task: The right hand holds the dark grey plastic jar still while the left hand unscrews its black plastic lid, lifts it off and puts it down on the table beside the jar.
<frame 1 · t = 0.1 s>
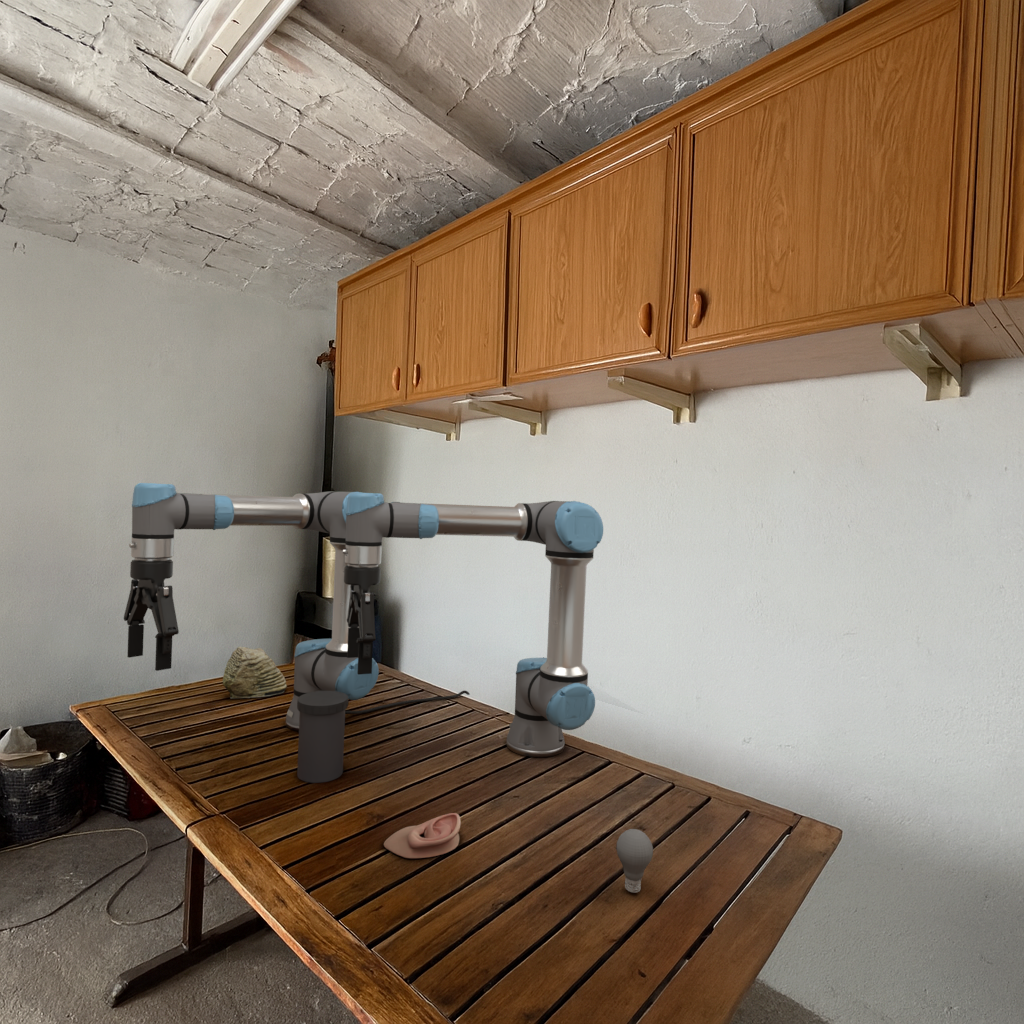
left hand: (148, 662, 129), 28 cm above the table, tool pointing down, fingers open, 13 cm apart
right hand: (358, 665, 134), 28 cm above the table, tool pointing down, fingers open, 13 cm apart
anatomical model: (422, 843, 117), on the table
fossil: (254, 694, 198), on the table
light bulb: (632, 891, 106), on the table
lid: (323, 699, 145), point 17 cm above the table, screwed on, not yet turned
jar: (320, 773, 145), on the table
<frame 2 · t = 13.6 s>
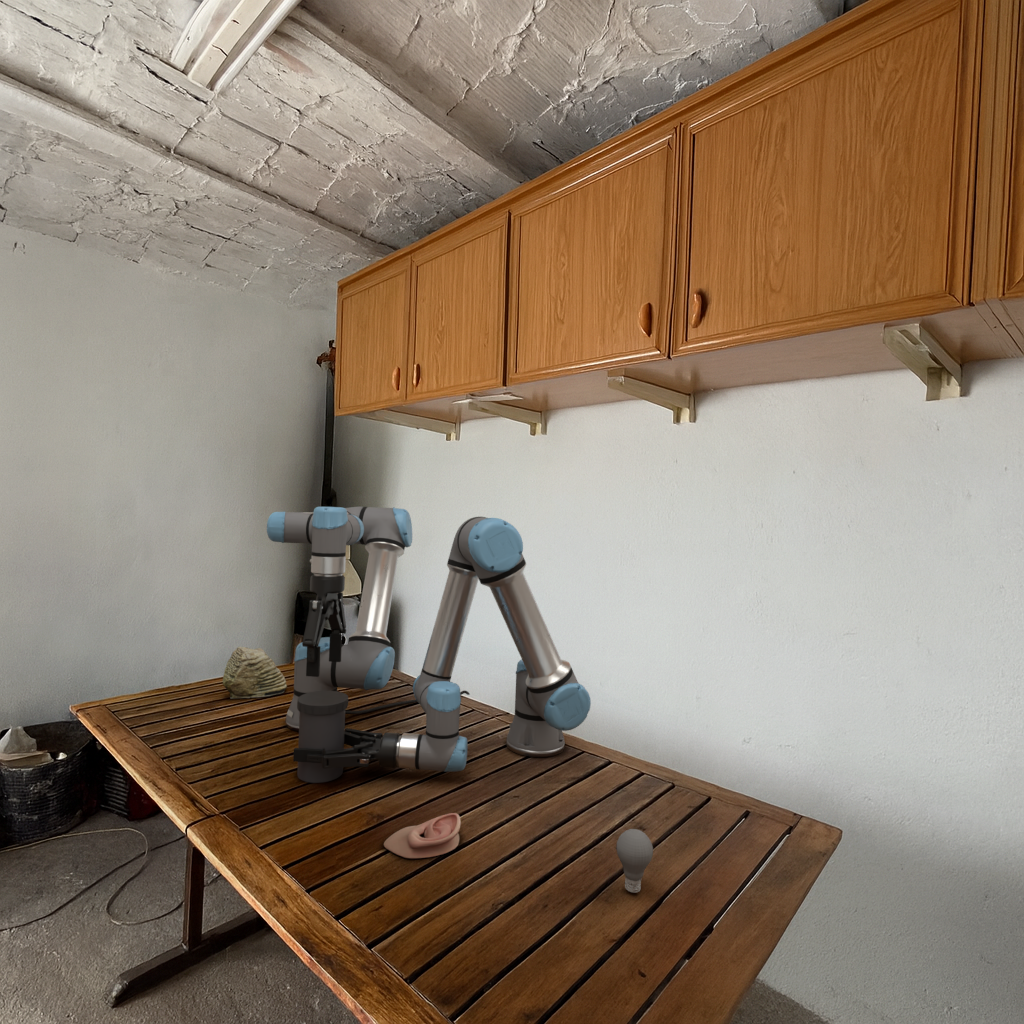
left hand: (324, 668, 145), 24 cm above the table, tool pointing down, fingers open, 12 cm apart
right hand: (302, 745, 145), 6 cm above the table, tool horizontal, fingers closed on jar, 10 cm apart
jar: (320, 773, 145), on the table, touching right hand
everything else where it was.
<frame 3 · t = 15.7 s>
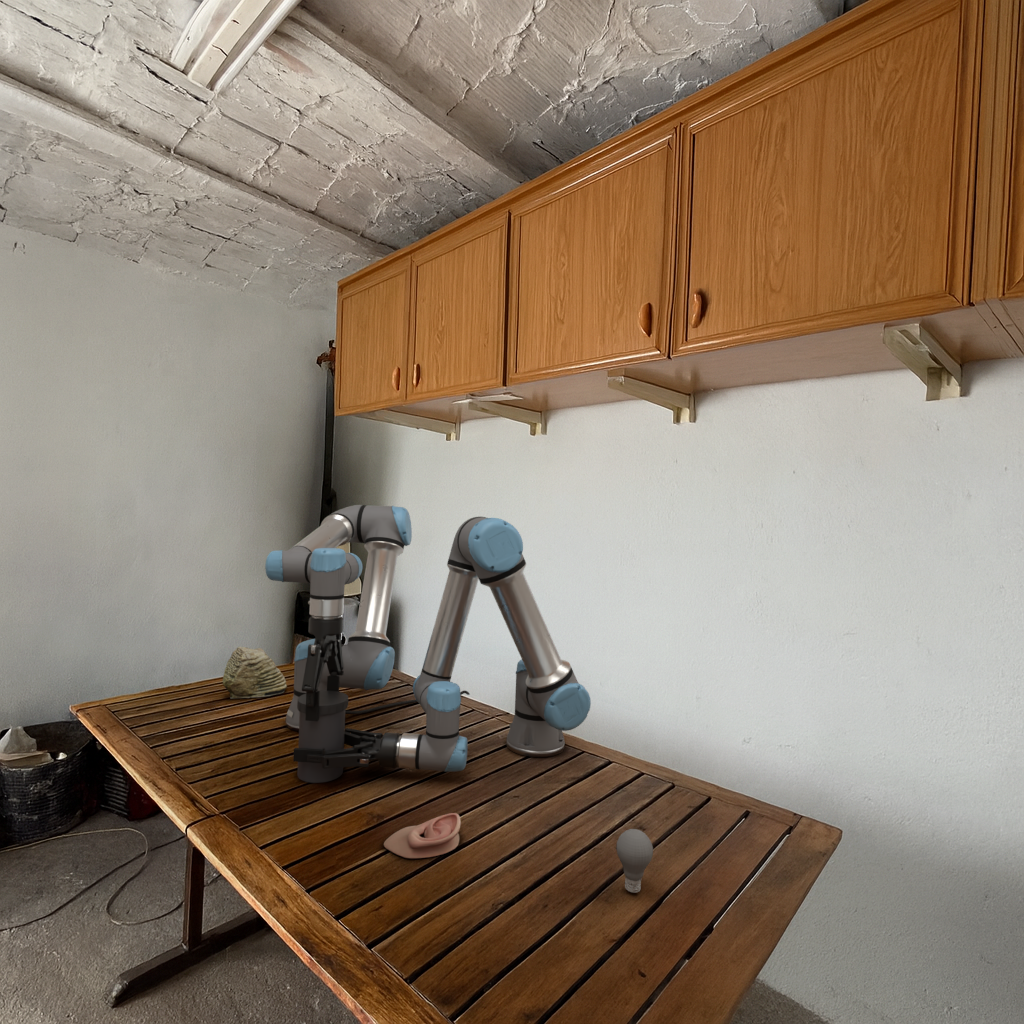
left hand: (322, 711, 145), 14 cm above the table, tool pointing down, fingers closed on lid, 11 cm apart
right hand: (302, 745, 145), 6 cm above the table, tool horizontal, fingers closed on jar, 10 cm apart
lid: (323, 699, 145), point 17 cm above the table, screwed on, not yet turned, touching left hand
jar: (320, 773, 145), on the table, touching right hand
everything else where it was.
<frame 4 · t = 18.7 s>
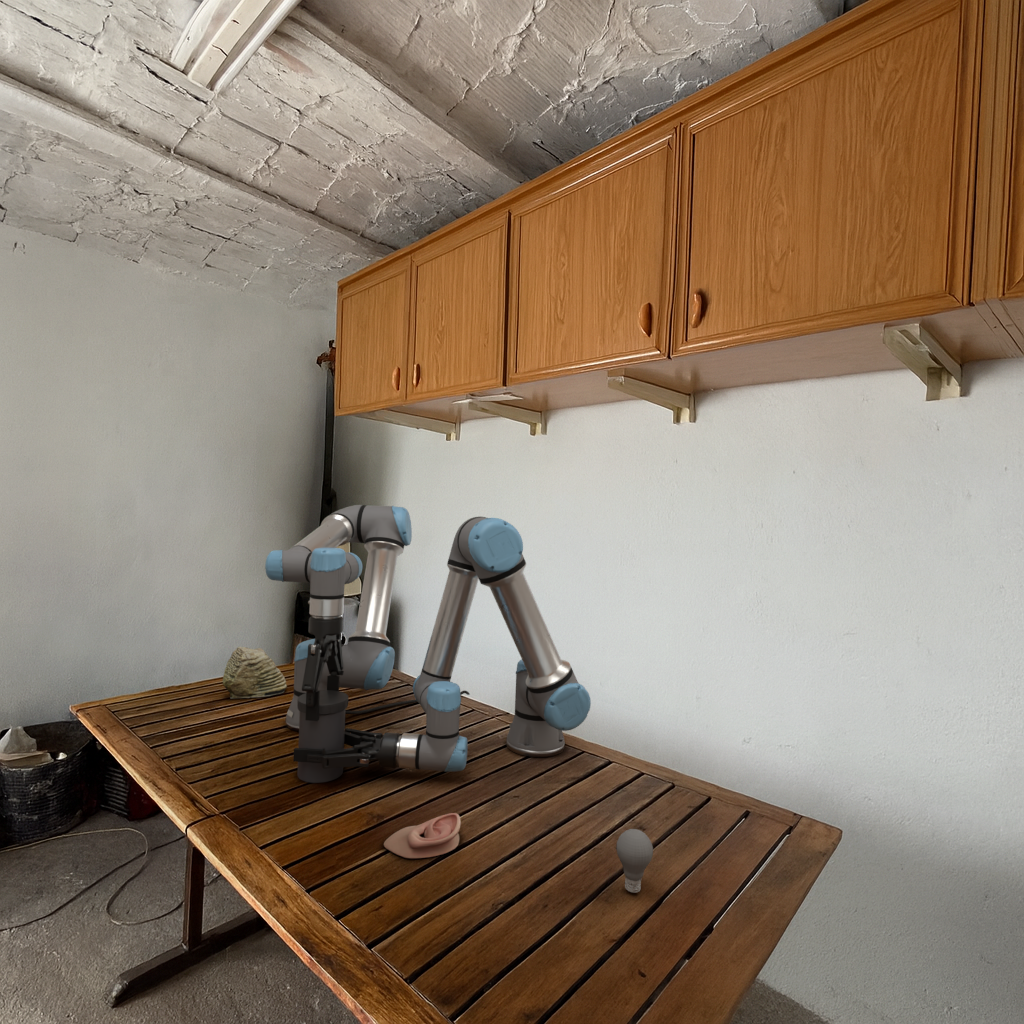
left hand: (322, 711, 145), 14 cm above the table, tool pointing down, fingers closed on lid, 11 cm apart
right hand: (302, 745, 145), 6 cm above the table, tool horizontal, fingers closed on jar, 10 cm apart
lid: (323, 699, 145), point 17 cm above the table, turned 80° so far, risen 0.1 cm, still on its thread, touching left hand
jar: (320, 773, 145), on the table, touching right hand
everything else where it was.
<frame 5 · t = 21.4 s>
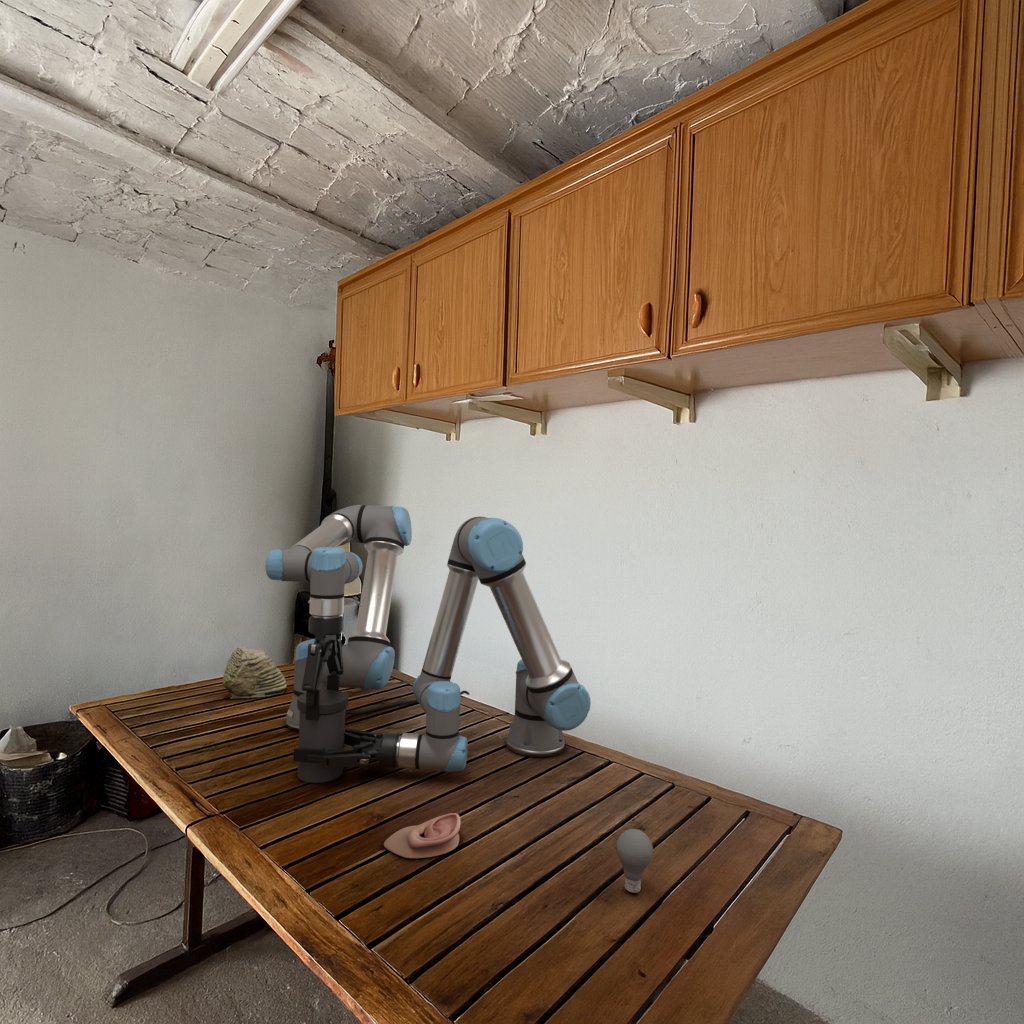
left hand: (322, 710, 145), 14 cm above the table, tool pointing down, fingers closed on lid, 11 cm apart
right hand: (302, 745, 145), 6 cm above the table, tool horizontal, fingers closed on jar, 10 cm apart
lid: (323, 698, 145), point 17 cm above the table, turned 159° so far, risen 0.2 cm, still on its thread, touching left hand
jar: (320, 773, 145), on the table, touching right hand
everything else where it was.
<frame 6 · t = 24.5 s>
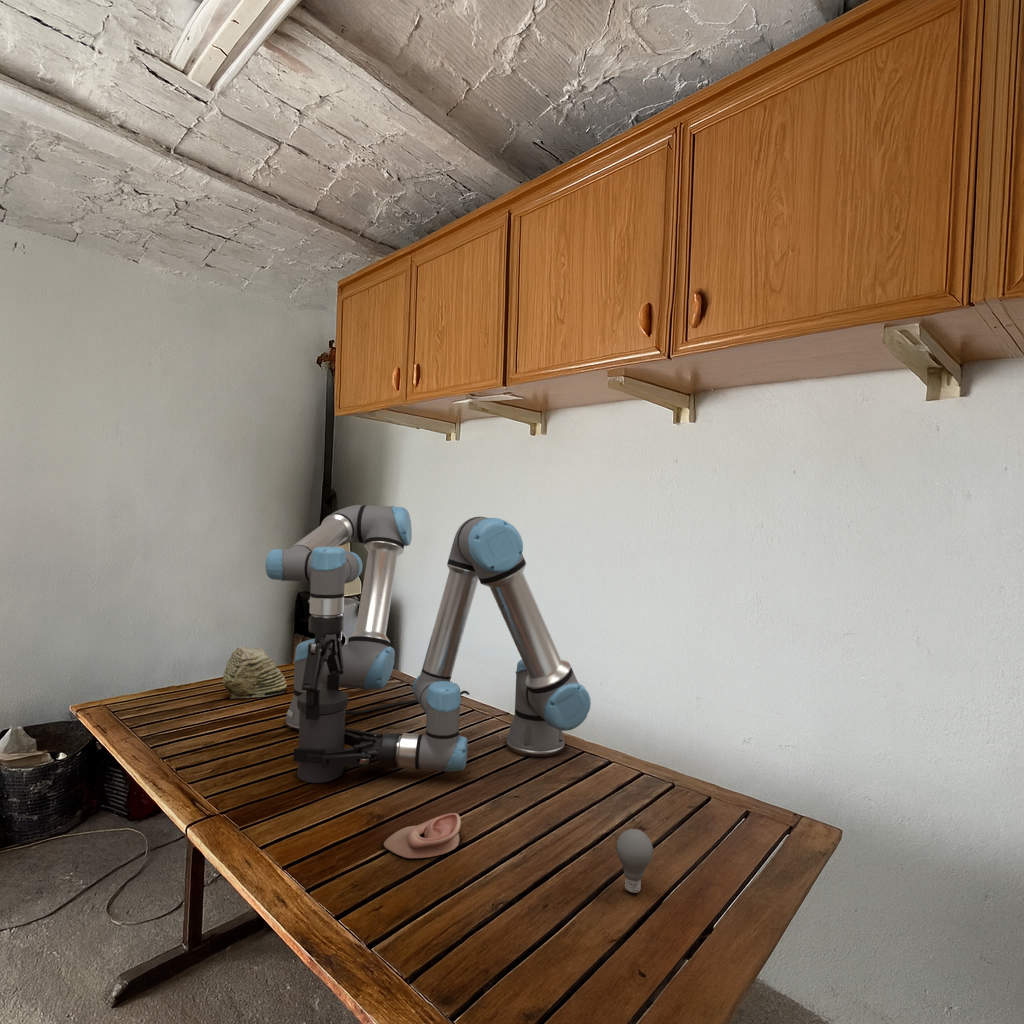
left hand: (322, 710, 145), 14 cm above the table, tool pointing down, fingers closed on lid, 11 cm apart
right hand: (302, 745, 145), 6 cm above the table, tool horizontal, fingers closed on jar, 10 cm apart
lid: (323, 698, 145), point 17 cm above the table, turned 239° so far, risen 0.3 cm, still on its thread, touching left hand
jar: (320, 773, 145), on the table, touching right hand
everything else where it was.
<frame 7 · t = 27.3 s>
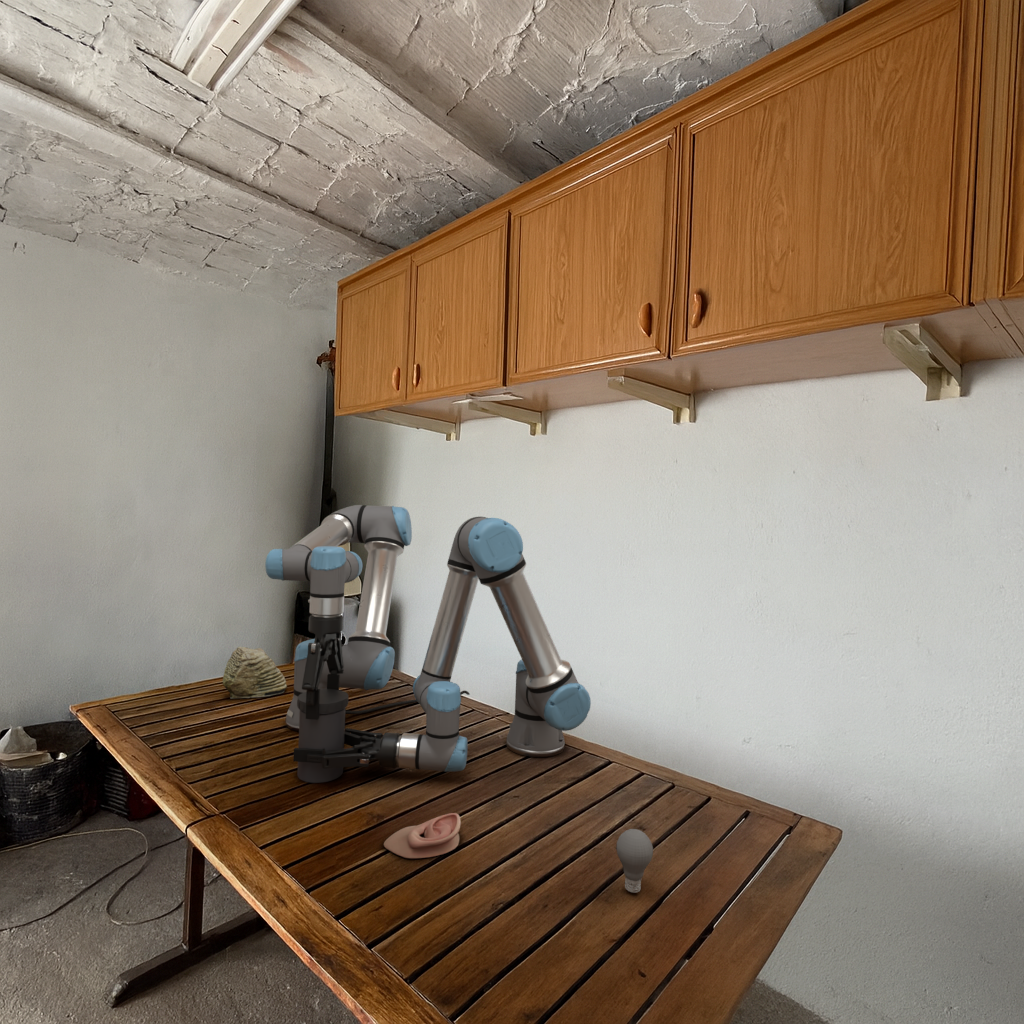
left hand: (322, 710, 145), 15 cm above the table, tool pointing down, fingers closed on lid, 11 cm apart
right hand: (302, 745, 145), 6 cm above the table, tool horizontal, fingers closed on jar, 10 cm apart
lid: (323, 697, 145), point 17 cm above the table, turned 318° so far, risen 0.4 cm, still on its thread, touching left hand
jar: (320, 773, 145), on the table, touching right hand
everything else where it was.
when the left hand's fingers open (0 cm above the table, at t = 34.4 s): lid drops 1 cm, point 2 cm above the table.
when the right hand's fingers open (6 cm above the table, at t = 35.4 s): jar stays where it is, on the table.
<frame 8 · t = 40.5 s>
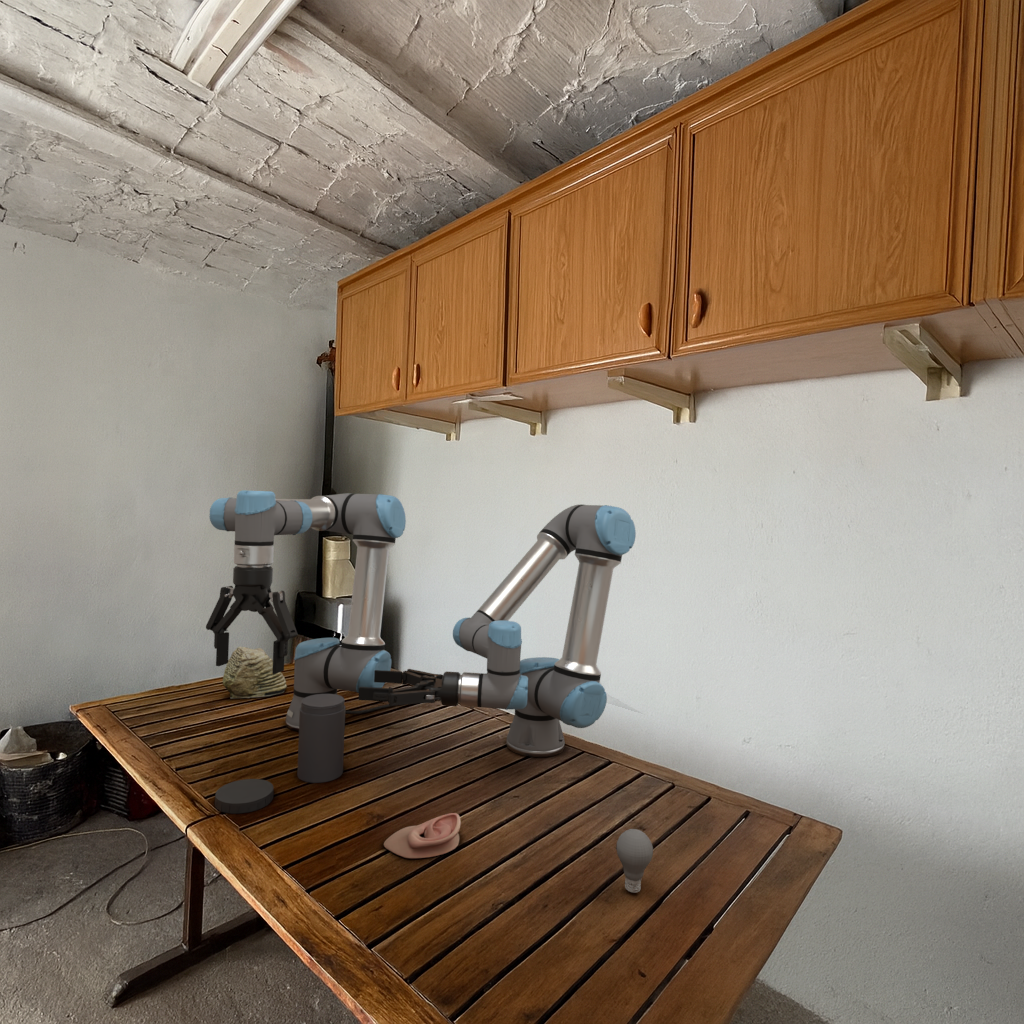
left hand: (249, 668, 130), 27 cm above the table, tool pointing down, fingers open, 13 cm apart
right hand: (367, 684, 144), 21 cm above the table, tool horizontal, fingers open, 13 cm apart
lid: (244, 792, 131), point 2 cm above the table, off its thread
jar: (320, 773, 145), on the table
everything else where it was.
at the end: lid came off its thread; lid point 1.7 cm above the table; the left hand is holding nothing; the right hand is holding nothing; jar tilted 0°; jar moved 0.0 cm from its start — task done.
